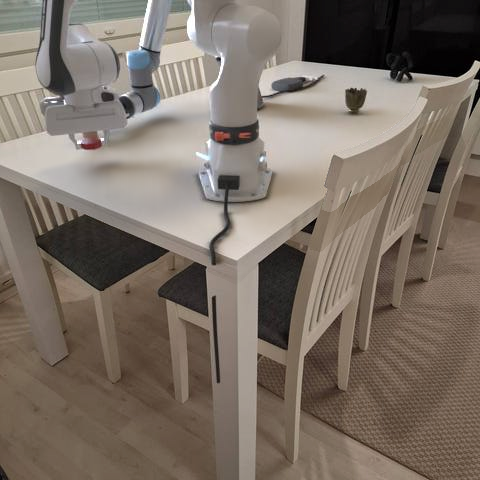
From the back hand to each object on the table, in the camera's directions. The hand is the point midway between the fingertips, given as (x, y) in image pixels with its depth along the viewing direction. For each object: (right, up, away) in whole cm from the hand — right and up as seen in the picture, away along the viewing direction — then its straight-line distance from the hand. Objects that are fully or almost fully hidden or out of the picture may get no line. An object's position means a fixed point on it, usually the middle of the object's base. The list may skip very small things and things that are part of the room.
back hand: (75, 127), depth 130 cm
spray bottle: (+73, +35, +65) cm, 103 cm away
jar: (+3, -3, +7) cm, 8 cm away
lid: (+9, -7, -12) cm, 17 cm away
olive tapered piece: (+89, +12, +28) cm, 94 cm away
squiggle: (+120, +39, +70) cm, 145 cm away
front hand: (+9, -8, -11) cm, 16 cm away
